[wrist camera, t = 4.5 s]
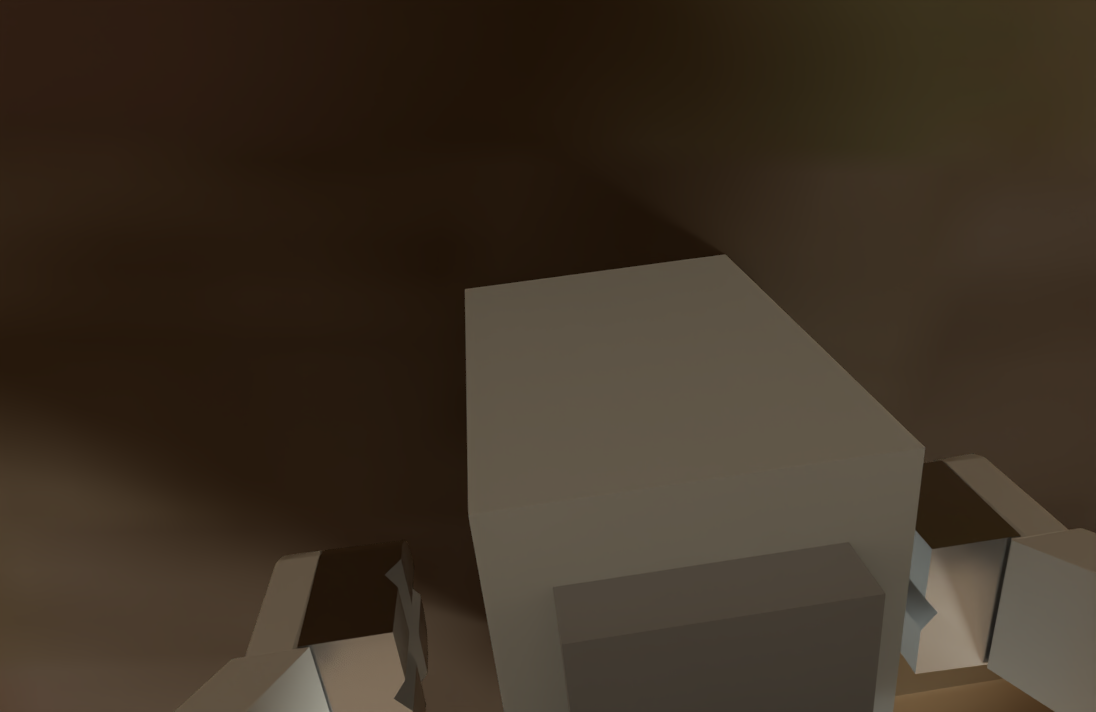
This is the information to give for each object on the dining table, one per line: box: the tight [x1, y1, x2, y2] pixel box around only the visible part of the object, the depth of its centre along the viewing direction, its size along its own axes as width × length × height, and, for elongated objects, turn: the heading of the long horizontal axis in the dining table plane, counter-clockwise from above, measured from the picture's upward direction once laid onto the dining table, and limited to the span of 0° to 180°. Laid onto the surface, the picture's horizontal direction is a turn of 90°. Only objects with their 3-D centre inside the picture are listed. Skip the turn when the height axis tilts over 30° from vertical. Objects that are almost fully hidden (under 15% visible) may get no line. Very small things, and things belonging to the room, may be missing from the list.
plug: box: [465, 254, 925, 712], centre depth 9 cm, size 4×6×6 cm, turn 6°
